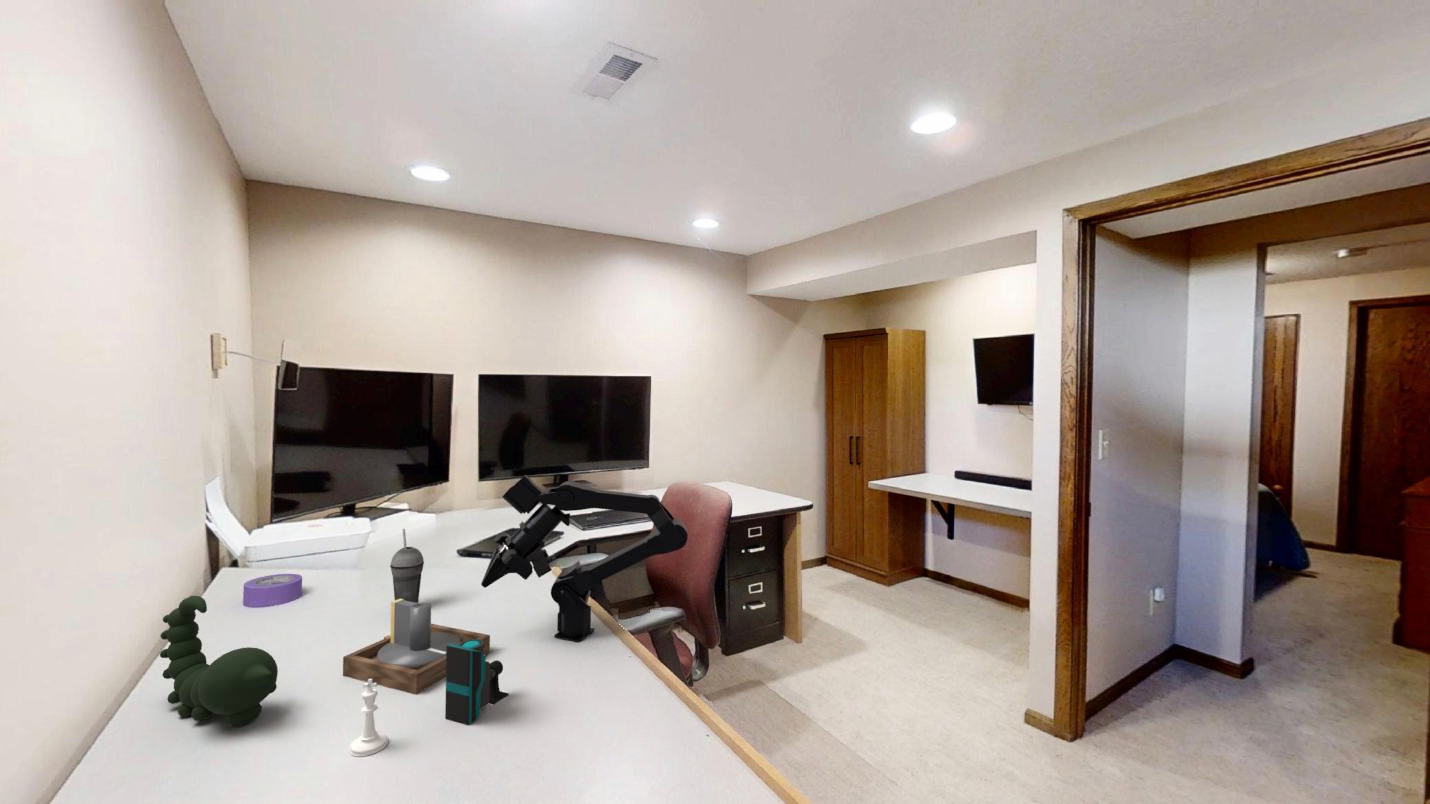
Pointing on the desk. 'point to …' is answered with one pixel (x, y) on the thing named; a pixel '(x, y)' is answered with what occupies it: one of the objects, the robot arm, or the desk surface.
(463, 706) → the surveillance camera
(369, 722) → the chess piece
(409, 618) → the knob
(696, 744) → the desk surface
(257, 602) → the tape roll
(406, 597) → the beverage cup
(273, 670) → the toy figurine
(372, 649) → the dial base
